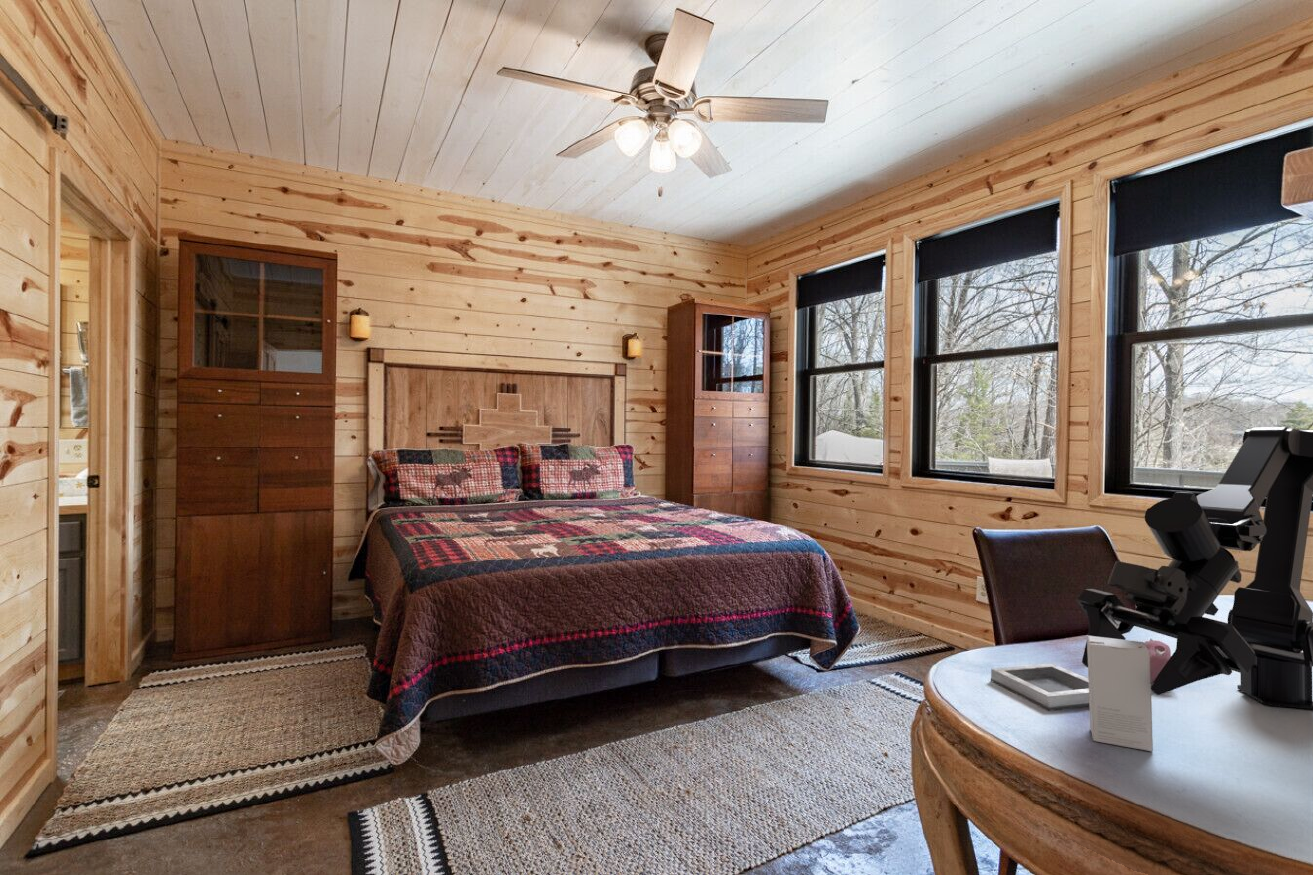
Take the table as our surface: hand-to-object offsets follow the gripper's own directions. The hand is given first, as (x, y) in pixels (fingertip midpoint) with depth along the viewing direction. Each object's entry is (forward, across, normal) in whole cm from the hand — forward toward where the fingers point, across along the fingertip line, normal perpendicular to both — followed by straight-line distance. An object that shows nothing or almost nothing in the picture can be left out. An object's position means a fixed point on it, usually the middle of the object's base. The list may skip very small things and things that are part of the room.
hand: (1117, 677), depth 78 cm
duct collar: (+2, -15, +8) cm, 17 cm away
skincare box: (+5, 0, +6) cm, 8 cm away
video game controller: (-11, -16, +22) cm, 30 cm away
